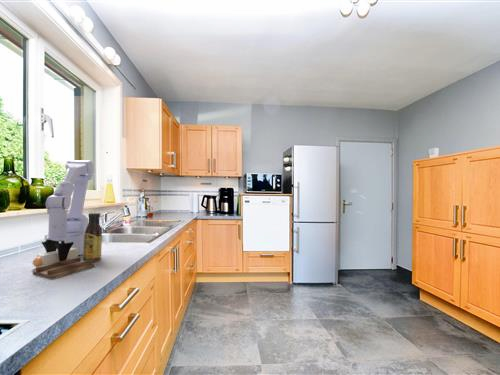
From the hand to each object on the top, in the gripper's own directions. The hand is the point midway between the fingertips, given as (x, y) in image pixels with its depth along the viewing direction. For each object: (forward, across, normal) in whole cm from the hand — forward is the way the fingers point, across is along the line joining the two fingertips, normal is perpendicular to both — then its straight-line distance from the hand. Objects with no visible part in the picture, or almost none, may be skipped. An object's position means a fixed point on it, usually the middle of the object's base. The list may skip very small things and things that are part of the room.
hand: (57, 259), depth 94 cm
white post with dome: (+2, 0, 0) cm, 2 cm away
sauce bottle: (+2, +8, +9) cm, 12 cm away
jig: (+2, +11, -3) cm, 12 cm away
